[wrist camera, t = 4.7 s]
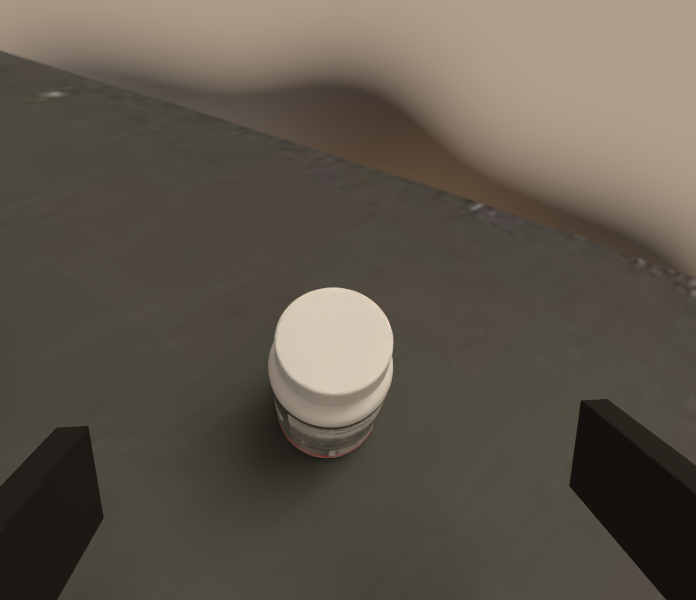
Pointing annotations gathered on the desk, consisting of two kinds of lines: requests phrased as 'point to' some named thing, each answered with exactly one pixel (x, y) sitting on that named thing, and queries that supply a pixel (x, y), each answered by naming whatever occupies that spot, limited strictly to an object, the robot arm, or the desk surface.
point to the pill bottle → (330, 370)
